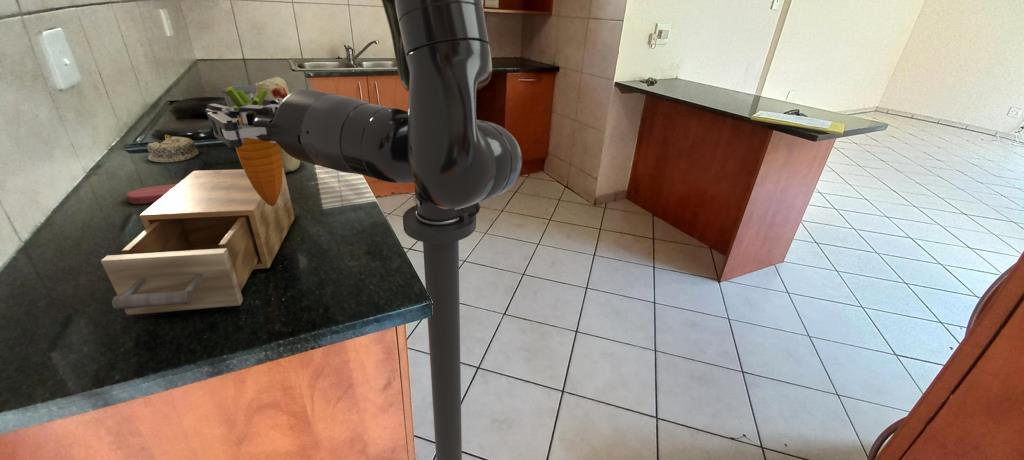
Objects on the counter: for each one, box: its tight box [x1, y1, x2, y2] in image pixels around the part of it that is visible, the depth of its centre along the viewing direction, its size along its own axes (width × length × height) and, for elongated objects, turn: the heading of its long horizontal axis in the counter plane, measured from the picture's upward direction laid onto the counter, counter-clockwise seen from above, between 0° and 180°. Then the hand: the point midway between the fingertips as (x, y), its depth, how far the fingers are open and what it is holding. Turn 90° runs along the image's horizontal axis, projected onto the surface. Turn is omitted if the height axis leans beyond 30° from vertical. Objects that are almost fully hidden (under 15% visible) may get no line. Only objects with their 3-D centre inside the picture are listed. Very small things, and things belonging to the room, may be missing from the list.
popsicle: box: [126, 183, 178, 205], centre depth 83 cm, size 5×2×15 cm
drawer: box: [100, 215, 260, 316], centre depth 55 cm, size 20×12×8 cm, turn 12°
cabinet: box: [139, 168, 295, 270], centre depth 66 cm, size 17×14×10 cm
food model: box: [255, 76, 302, 173], centre depth 94 cm, size 10×7×20 cm
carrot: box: [226, 86, 282, 206], centre depth 52 cm, size 5×5×15 cm
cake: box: [146, 134, 200, 163], centre depth 101 cm, size 10×10×5 cm
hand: (234, 109), depth 51 cm, fingers closed on carrot, 4 cm apart
